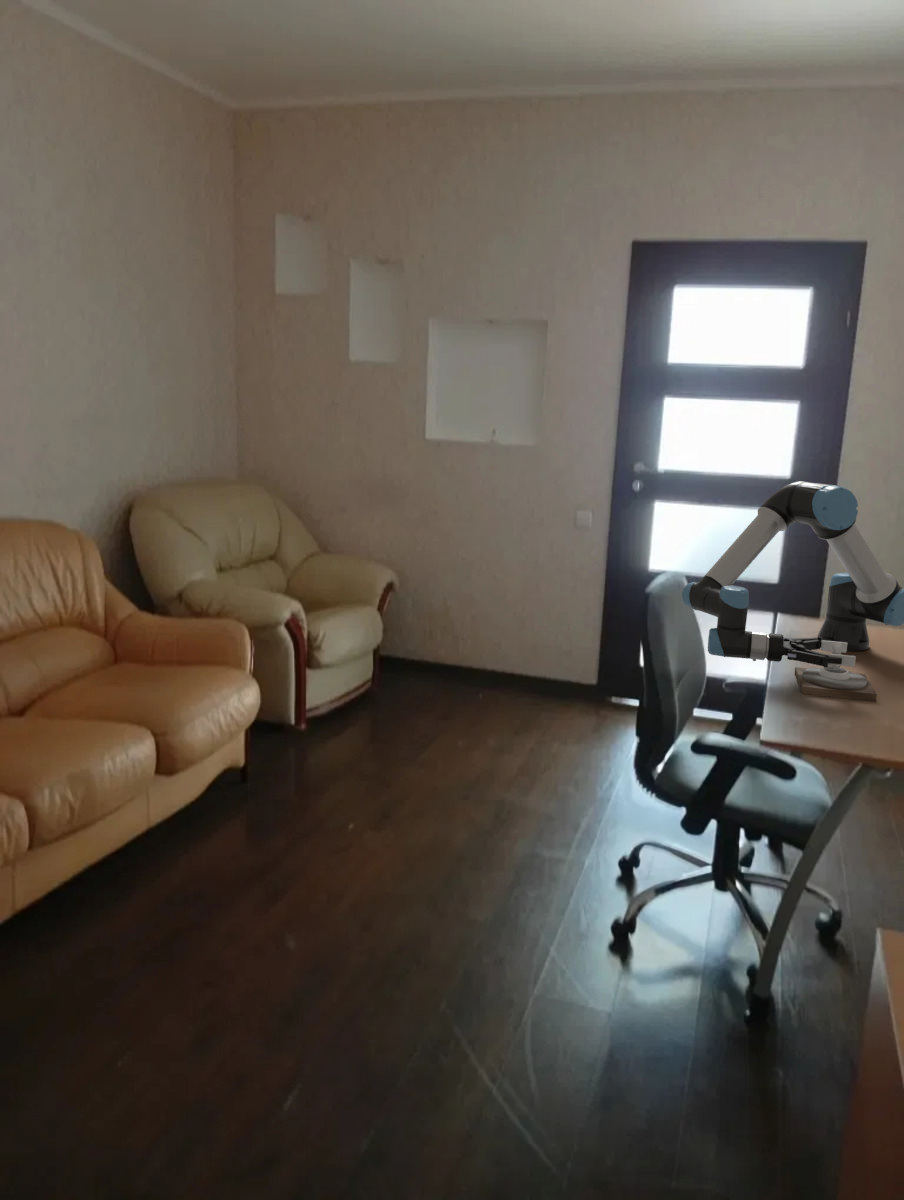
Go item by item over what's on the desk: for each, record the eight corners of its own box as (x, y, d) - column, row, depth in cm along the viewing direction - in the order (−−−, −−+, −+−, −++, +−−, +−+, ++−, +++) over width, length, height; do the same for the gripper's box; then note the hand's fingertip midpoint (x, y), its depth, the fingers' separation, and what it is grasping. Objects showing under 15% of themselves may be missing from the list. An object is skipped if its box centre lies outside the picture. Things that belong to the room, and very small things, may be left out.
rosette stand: (794, 673, 253) (795, 663, 253) (863, 680, 249) (864, 670, 248) (801, 693, 236) (802, 682, 236) (875, 701, 232) (877, 690, 231)
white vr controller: (825, 664, 234) (818, 643, 239) (822, 691, 243) (815, 671, 247) (855, 660, 233) (847, 639, 238) (851, 687, 241) (844, 667, 246)
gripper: (762, 647, 257) (841, 655, 252) (768, 673, 234) (856, 681, 229) (765, 622, 256) (845, 629, 250) (771, 645, 232) (860, 653, 227)
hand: (850, 654), depth 240 cm, fingers open, 13 cm apart
